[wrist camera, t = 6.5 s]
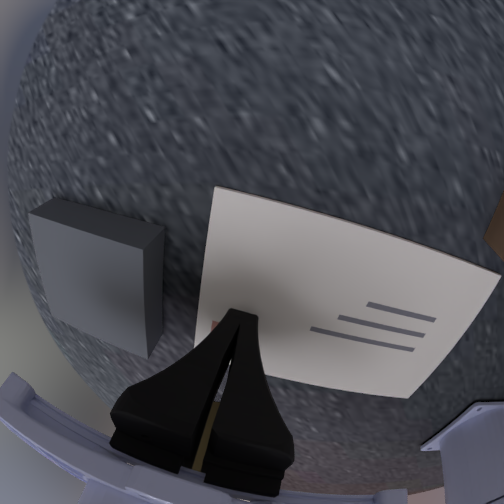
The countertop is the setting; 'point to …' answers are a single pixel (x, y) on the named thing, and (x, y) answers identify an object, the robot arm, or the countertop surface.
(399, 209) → the countertop surface
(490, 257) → the countertop surface
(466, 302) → the letter
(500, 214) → the walnut block
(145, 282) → the metal block
